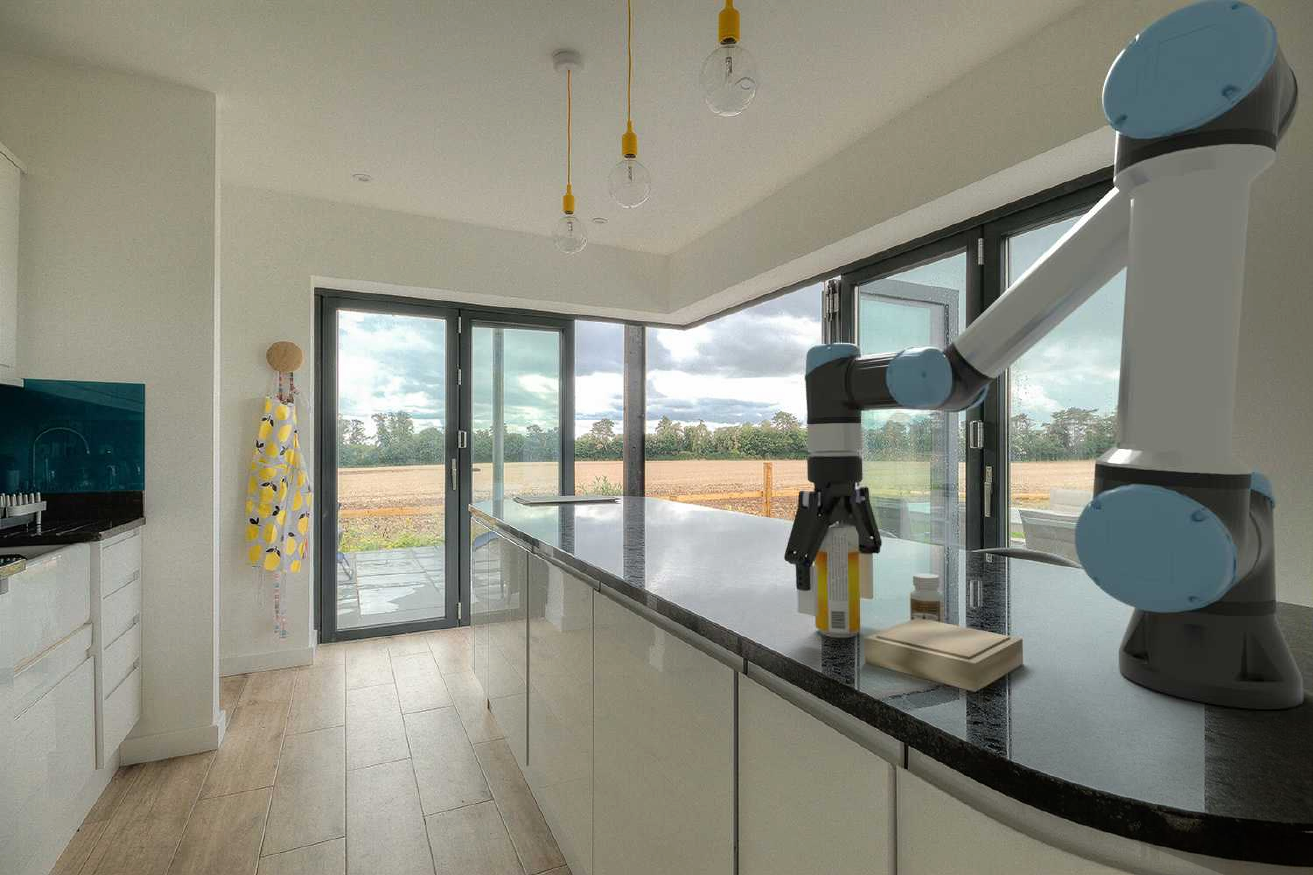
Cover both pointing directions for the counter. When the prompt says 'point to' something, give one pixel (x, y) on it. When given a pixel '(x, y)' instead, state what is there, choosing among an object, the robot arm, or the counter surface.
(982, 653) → the podium
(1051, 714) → the counter surface
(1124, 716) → the counter surface
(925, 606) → the pill bottle
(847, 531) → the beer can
